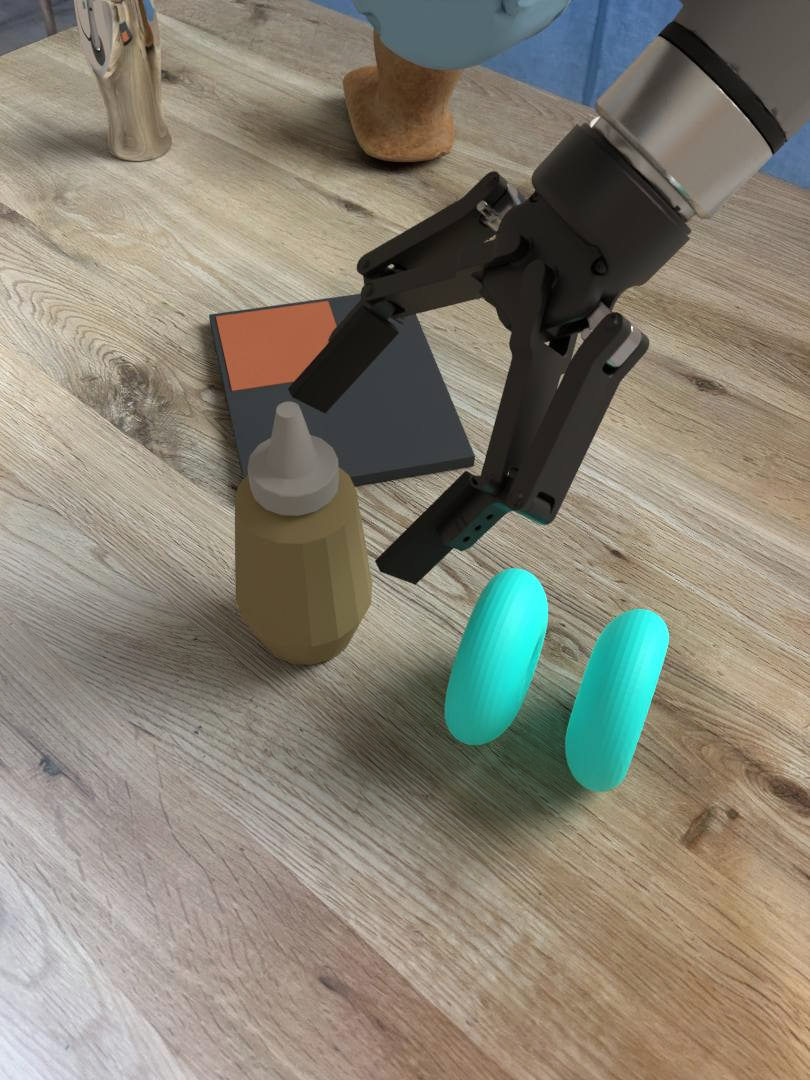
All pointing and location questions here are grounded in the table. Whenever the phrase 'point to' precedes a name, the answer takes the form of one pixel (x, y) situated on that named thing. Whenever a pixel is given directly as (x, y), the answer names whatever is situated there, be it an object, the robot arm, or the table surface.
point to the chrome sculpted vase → (126, 73)
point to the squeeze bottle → (299, 546)
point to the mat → (361, 412)
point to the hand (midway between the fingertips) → (347, 481)
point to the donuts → (509, 664)
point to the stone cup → (400, 107)
